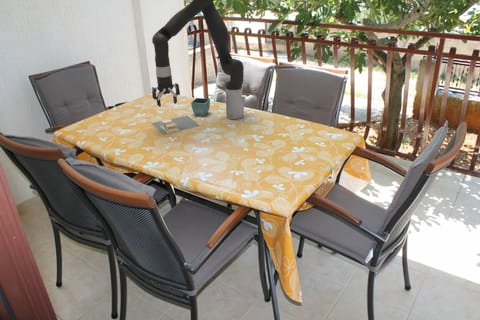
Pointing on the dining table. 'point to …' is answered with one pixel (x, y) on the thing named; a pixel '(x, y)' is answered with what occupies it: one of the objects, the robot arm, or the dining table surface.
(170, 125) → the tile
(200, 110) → the flower pot
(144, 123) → the dining table surface
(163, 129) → the mat
